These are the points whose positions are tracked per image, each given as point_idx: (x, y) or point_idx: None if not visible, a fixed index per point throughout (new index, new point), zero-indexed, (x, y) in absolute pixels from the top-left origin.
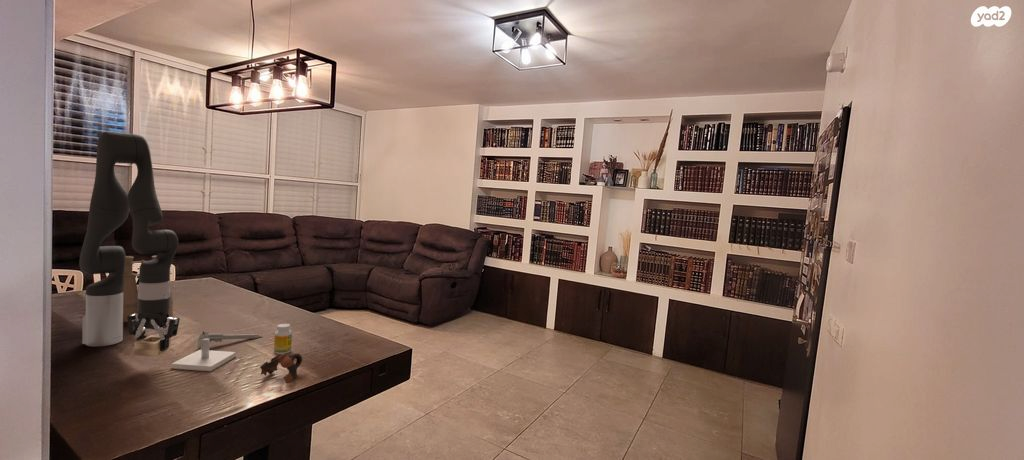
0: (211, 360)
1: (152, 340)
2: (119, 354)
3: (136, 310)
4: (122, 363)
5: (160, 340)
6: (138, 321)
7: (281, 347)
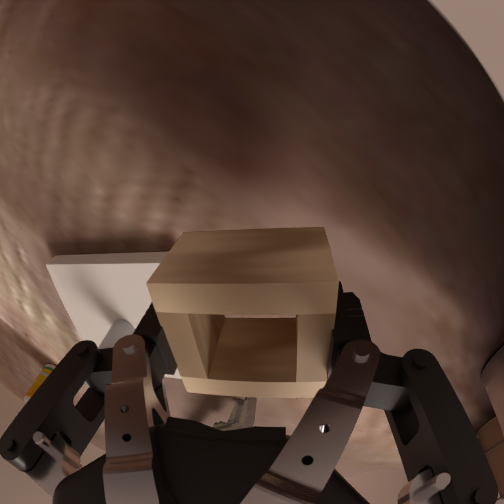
0: (86, 308)
1: (290, 360)
2: (460, 317)
3: (483, 443)
4: (415, 257)
5: (156, 333)
6: (408, 476)
7: (39, 375)
